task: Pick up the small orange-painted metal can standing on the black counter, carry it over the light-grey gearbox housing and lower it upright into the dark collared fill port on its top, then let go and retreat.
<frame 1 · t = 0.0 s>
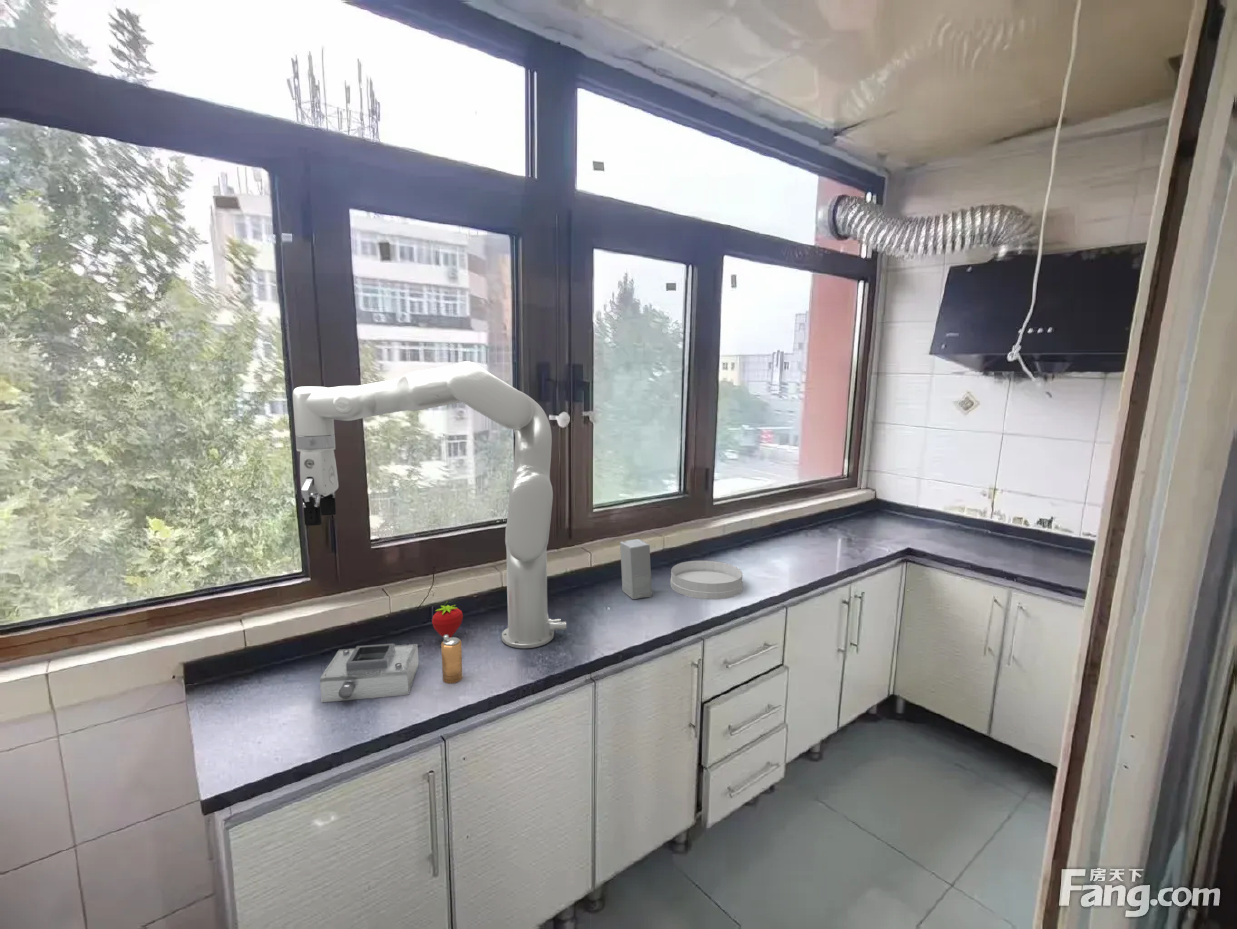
hand: (321, 519, 125), 31 cm above the worktop, fingers open, 9 cm apart
gearbox housing: (373, 682, 116), on the worktop
strawberry: (448, 640, 136), on the worktop
spout can: (452, 678, 118), on the worktop
skincare box: (635, 594, 166), on the worktop
dish: (706, 587, 173), on the worktop
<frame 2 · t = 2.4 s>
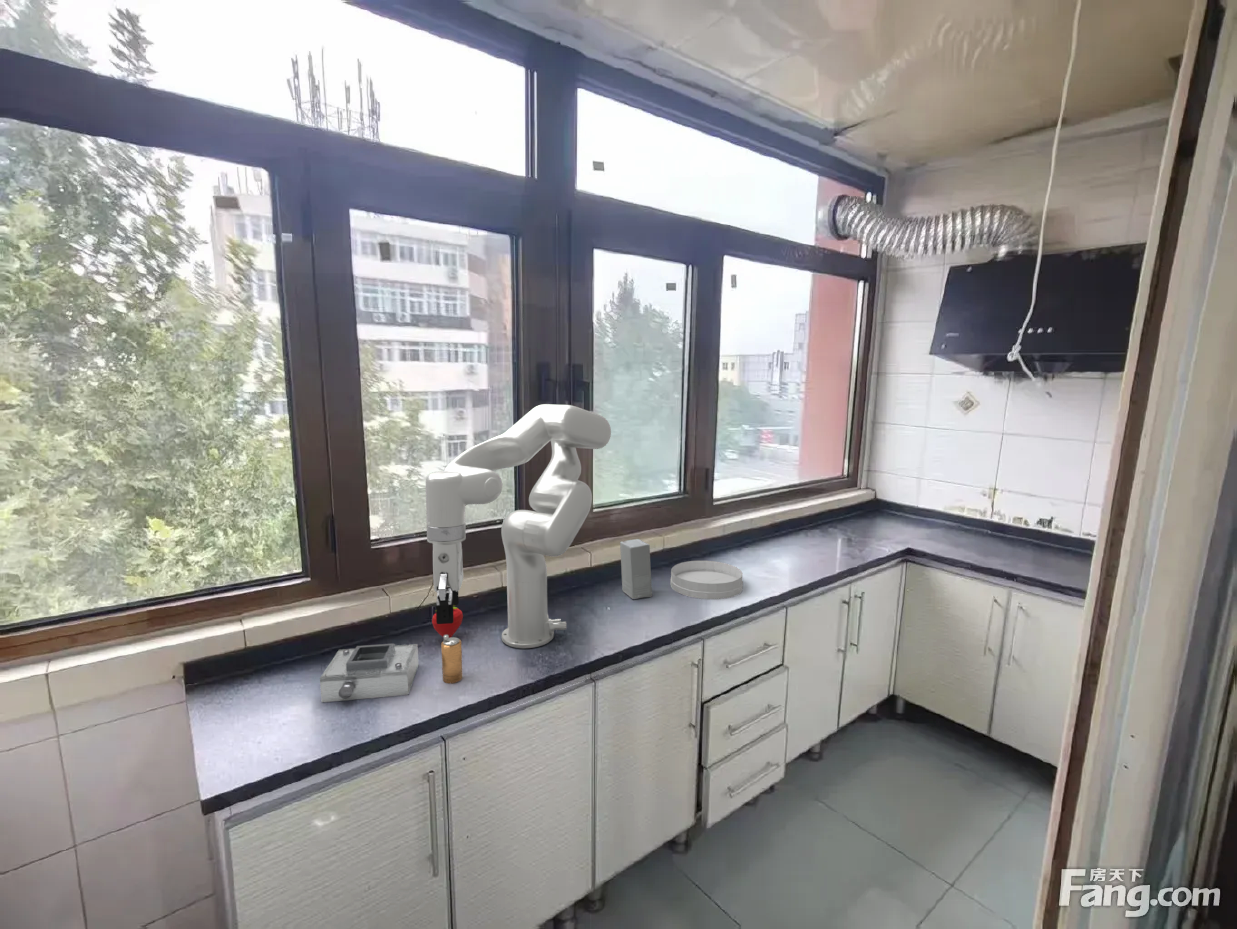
hand: (448, 613, 115), 14 cm above the worktop, fingers open, 9 cm apart
nothing on the worktop moved.
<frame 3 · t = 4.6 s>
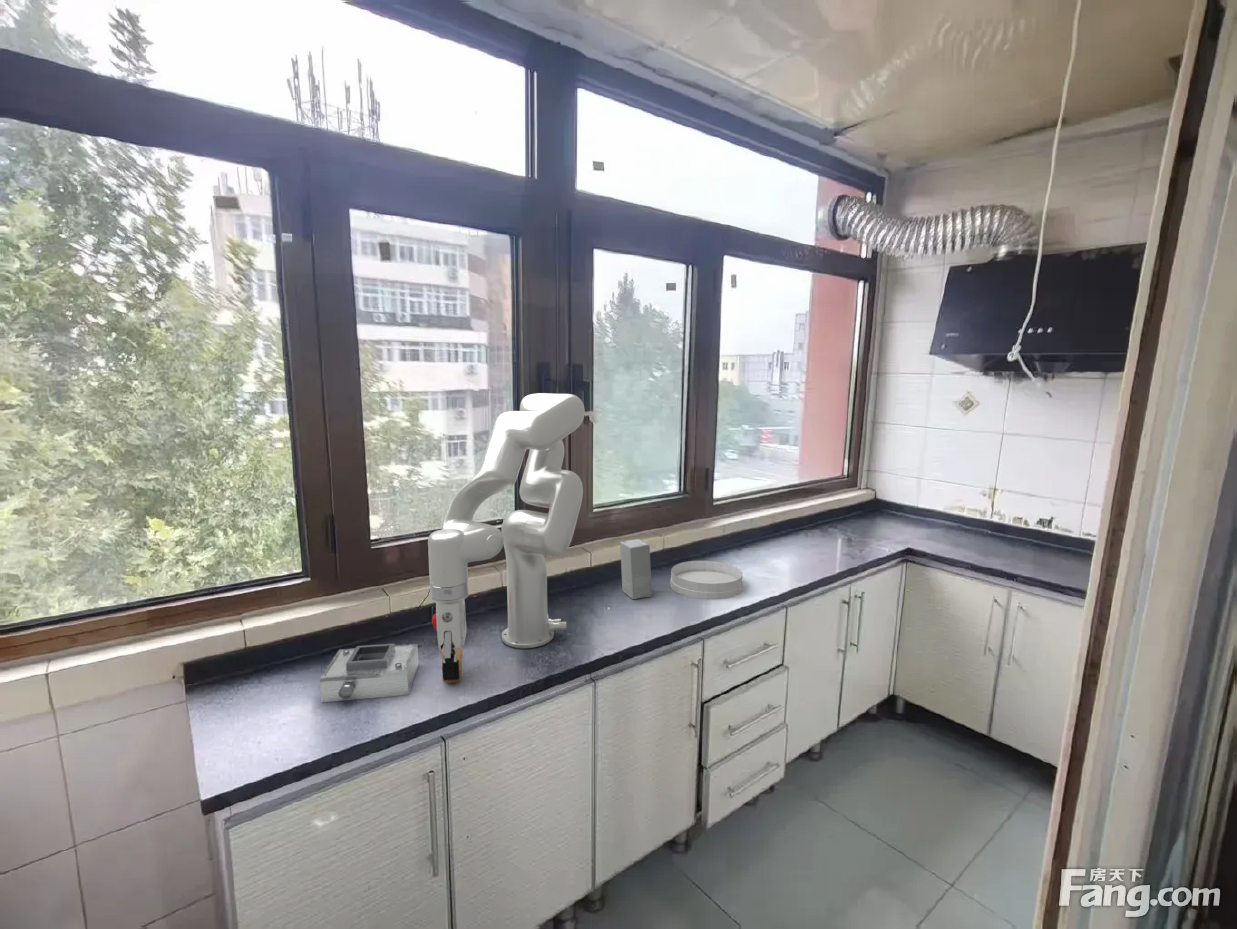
hand: (452, 672, 117), 1 cm above the worktop, fingers closed on spout can, 4 cm apart
spout can: (452, 678, 118), on the worktop, touching gripper
everything else where it was.
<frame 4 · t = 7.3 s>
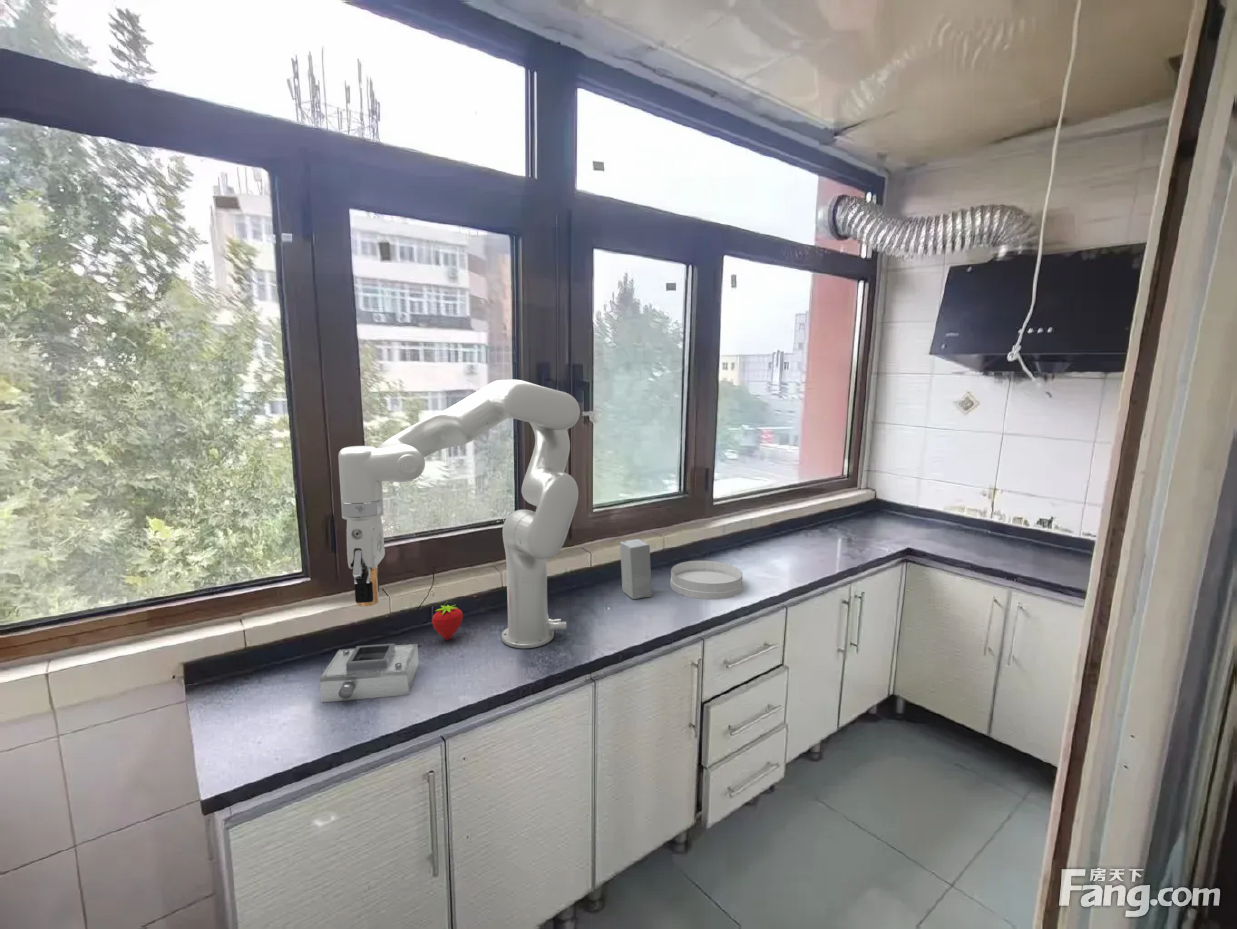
hand: (367, 596, 113), 19 cm above the worktop, fingers closed on spout can, 4 cm apart
spout can: (367, 602, 113), point 17 cm above the worktop, touching gripper
everything else where it was.
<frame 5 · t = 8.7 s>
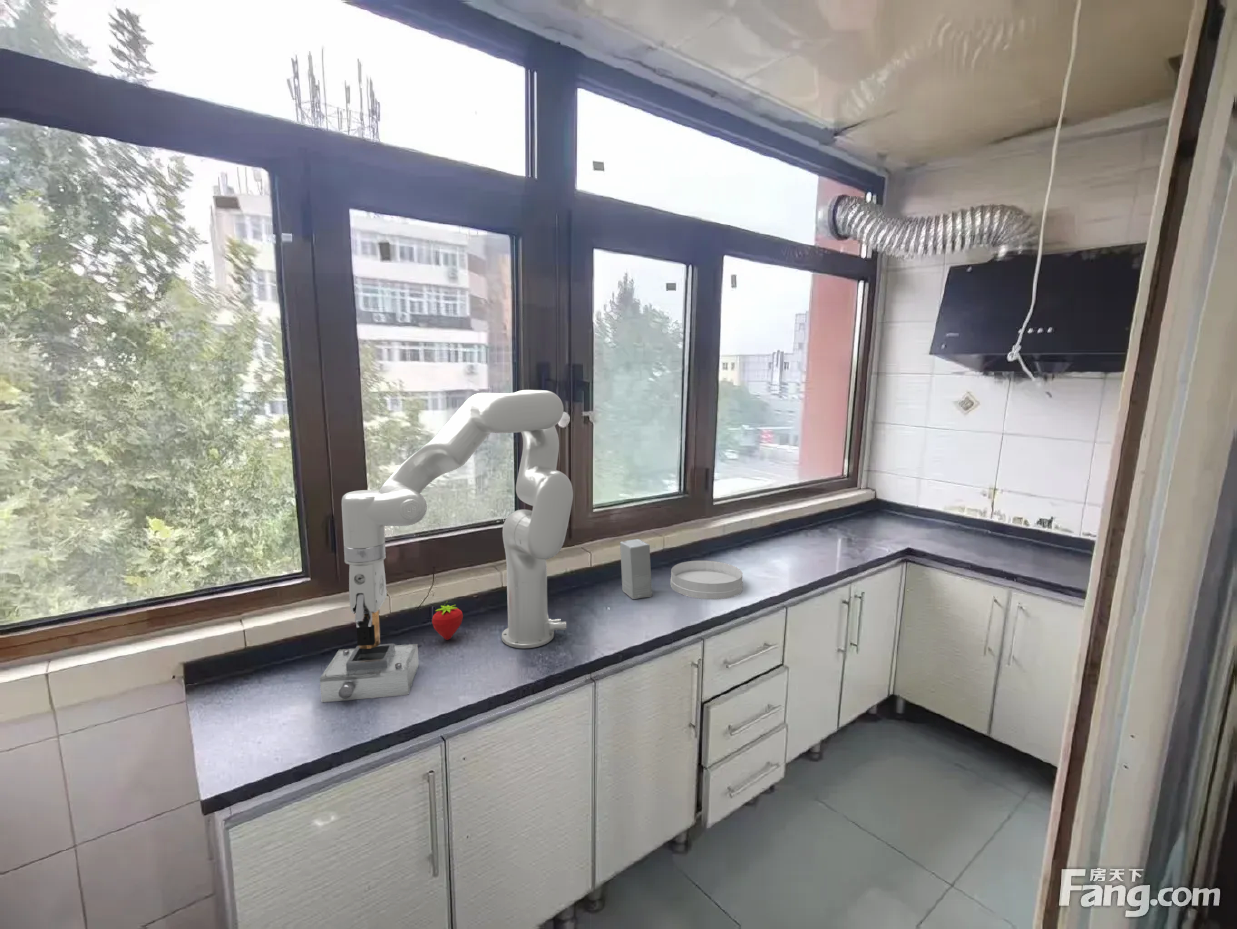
hand: (369, 638, 114), 10 cm above the worktop, fingers closed on spout can, 4 cm apart
spout can: (369, 644, 114), point 8 cm above the worktop, touching gripper
everything else where it was.
when the fingers open (8 cm above the worktop, at t = 9.9 s): spout can drops 6 cm, resting on gearbox housing.
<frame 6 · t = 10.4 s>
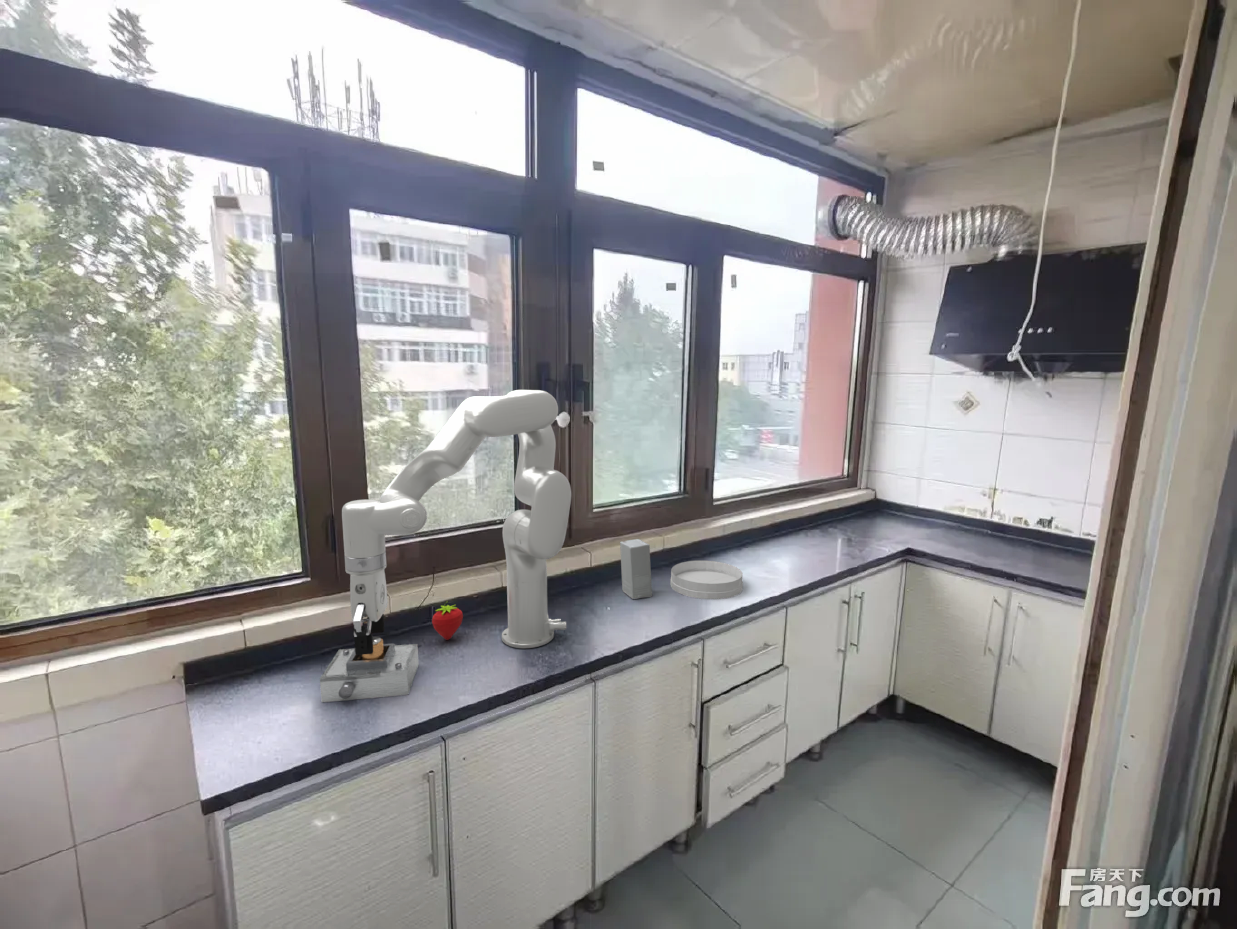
hand: (370, 642, 115), 9 cm above the worktop, fingers open, 9 cm apart
spout can: (374, 678, 116), point 1 cm above the worktop, touching gearbox housing
everything else where it was.
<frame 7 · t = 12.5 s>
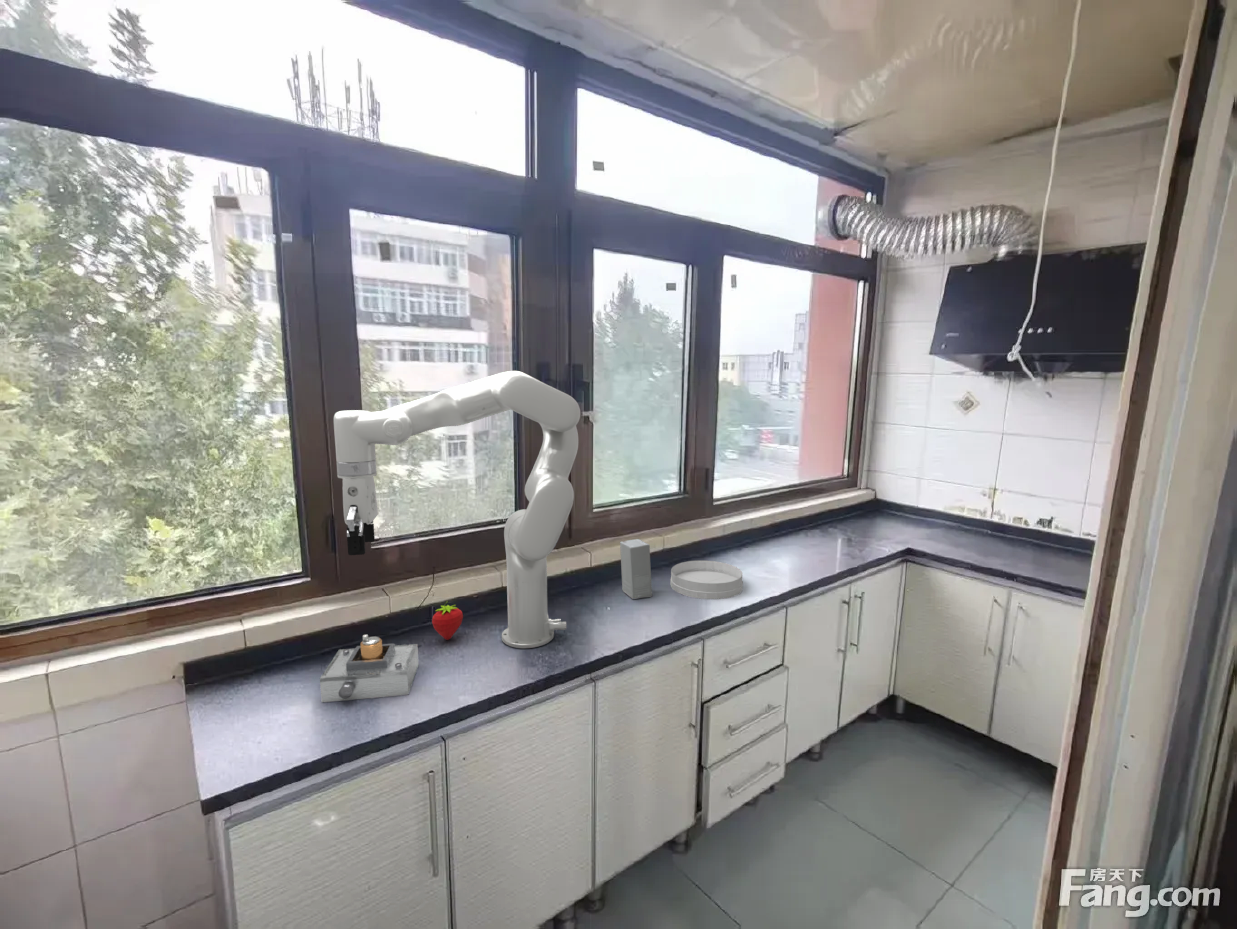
hand: (362, 547, 120), 26 cm above the worktop, fingers open, 9 cm apart
nothing on the worktop moved.
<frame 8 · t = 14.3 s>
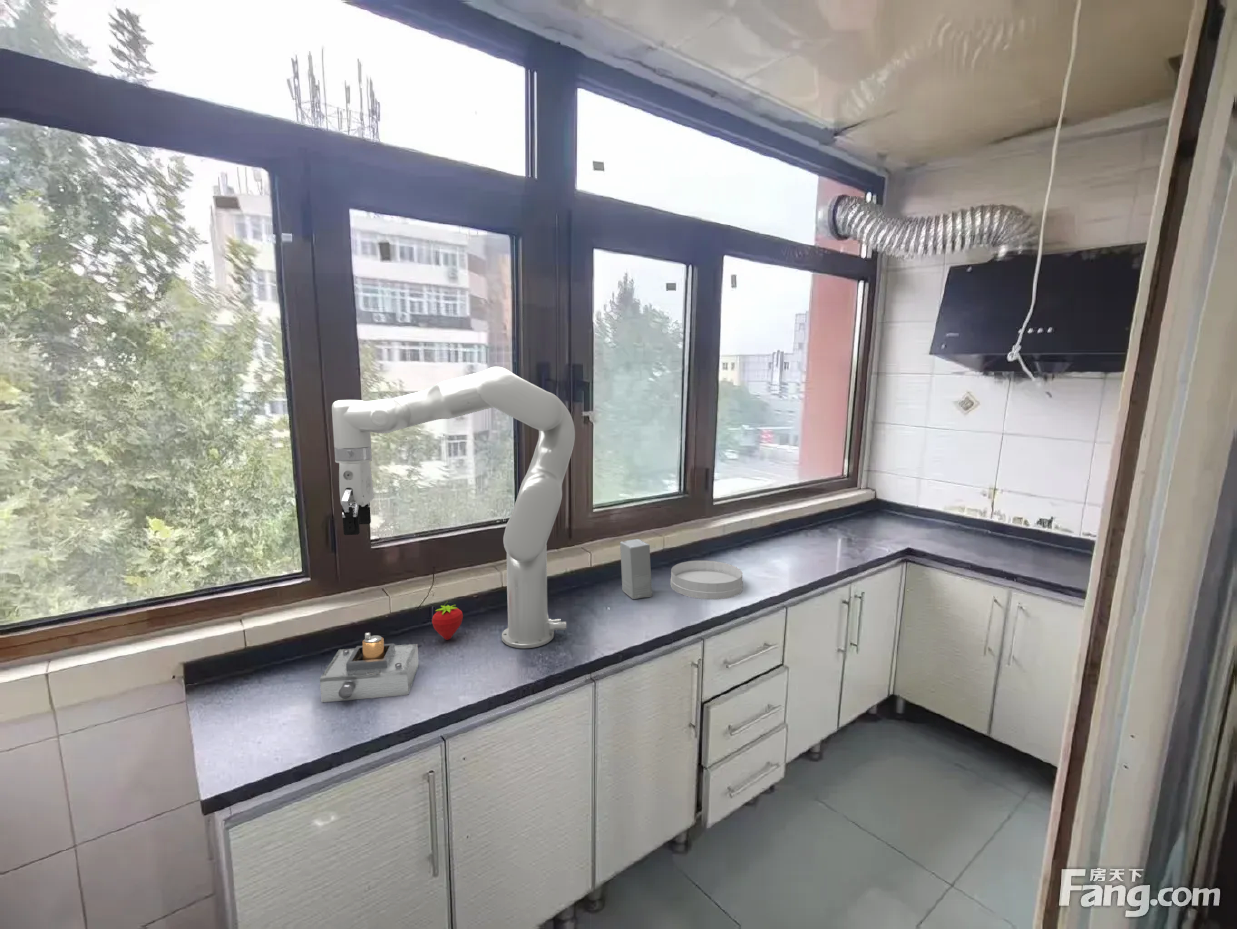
hand: (358, 529, 128), 28 cm above the worktop, fingers open, 9 cm apart
nothing on the worktop moved.
at the end: spout can 0.3 cm off-centre on the gearbox housing, point 0.9 cm above the gearbox housing's base; spout can tilted 3°; the gripper is holding nothing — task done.
